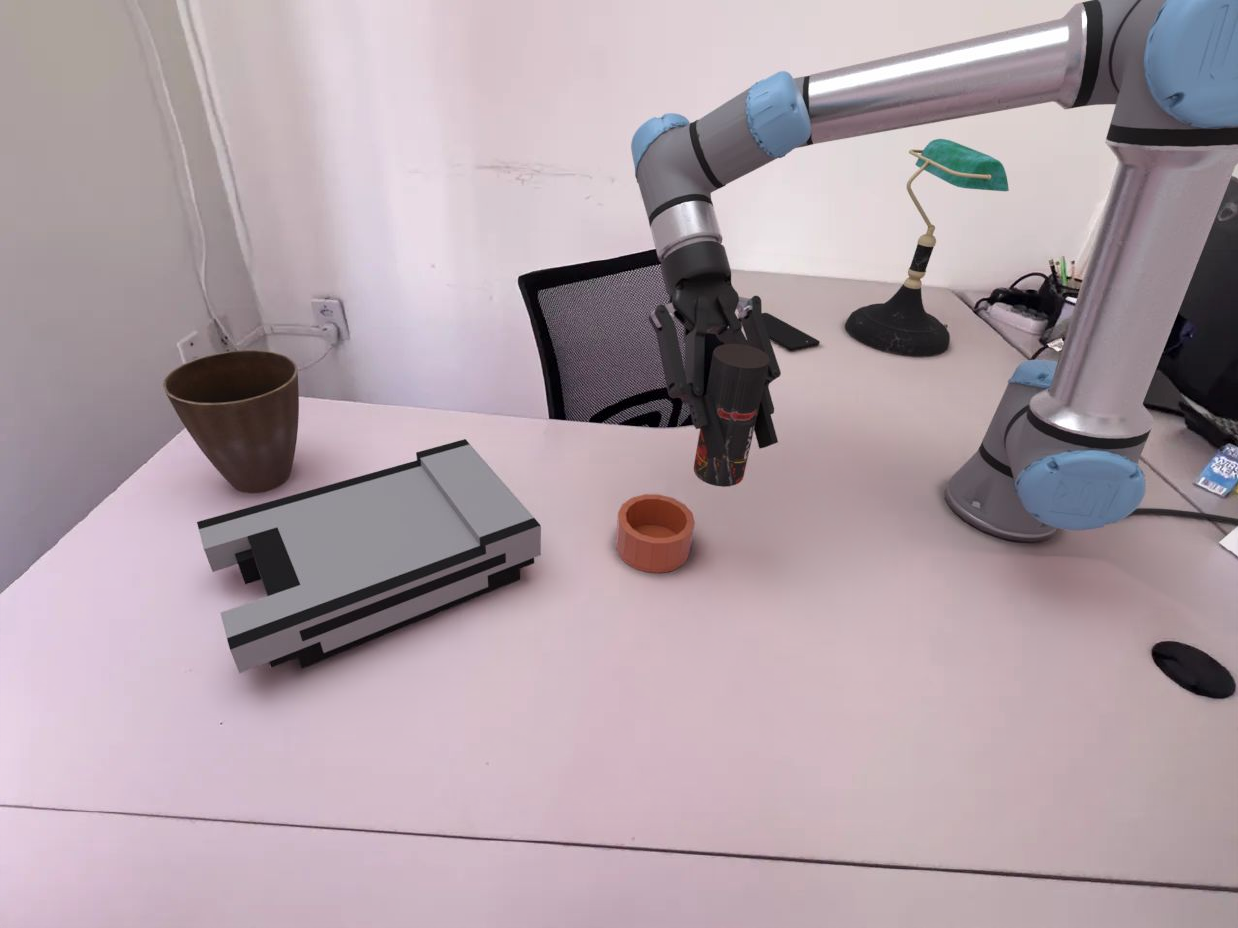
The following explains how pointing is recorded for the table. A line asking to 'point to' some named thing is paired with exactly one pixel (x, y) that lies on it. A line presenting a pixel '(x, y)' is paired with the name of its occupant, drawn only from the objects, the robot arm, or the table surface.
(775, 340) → the cell phone
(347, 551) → the game console
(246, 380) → the flower pot
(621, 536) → the cup
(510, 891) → the table surface
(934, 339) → the banker's lamp
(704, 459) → the deodorant
